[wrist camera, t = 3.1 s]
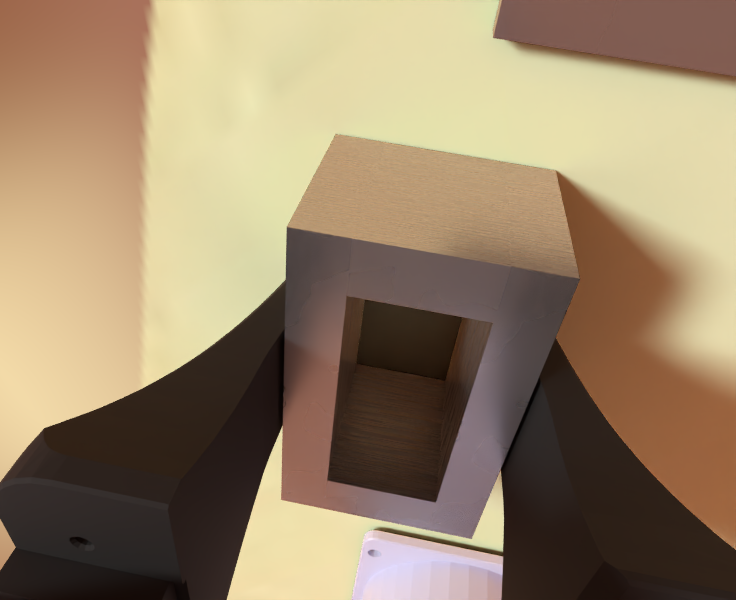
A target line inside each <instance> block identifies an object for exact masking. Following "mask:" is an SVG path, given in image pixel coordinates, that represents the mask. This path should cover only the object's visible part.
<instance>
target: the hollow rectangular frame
mask: <svg viewBox="0 0 736 600" xmlns="http://www.w3.org/2000/svg"><path fill="white" fill-rule="evenodd" d="M579 280H580V276H579V272H578V267H577V263H576V259H575V254H574V250H573V245H572V241H571V236H570V232H569V227H568V223H567V218H566V214H565V209H564V205H563V201H562V196H561V192H560V187H559V183H558V178H557V174H556V171H554V170H548V169H542V168H536V167H530V166H524V165H518V164H512V163H506V162H500V161H494V160H488V159H482V158H476V157H470V156H464V155H458V154H452V153H446V152H440V151H434V150H428V149H422V148H416V147H410V146H404V145H398V144H392V143H386V142H380V141H374V140H368V139H362V138H356V137H350V136H344V135H338V134H336V135H335V137H334V138H333V140H332V142H331V144H330V146H329V148H328V150H327V152H326V154H325V156H324V157H323V159H322V161H321V163H320V165H319V167H318V169H317V171H316V173H315V174H314V176H313V178H312V180H311V182H310V184H309V186H308V188H307V190H306V192H305V193H304V195H303V197H302V199H301V201H300V203H299V205H298V207H297V209H296V211H295V212H294V214H293V216H292V218H291V220H290V222H289V224H288V226H287V245H286V294H285V344H284V393H283V442H282V492H281V500H285V501H290V502H295V503H299V504H304V505H309V506H314V507H319V508H324V509H329V510H333V511H338V512H343V513H348V514H353V515H358V516H363V517H368V518H372V519H377V520H382V521H387V522H392V523H397V524H402V525H407V526H411V527H416V528H421V529H426V530H431V531H436V532H441V533H445V534H450V535H455V536H460V537H465V538H470V539H472V537H473V534H474V532H475V529H476V527H477V525H478V522H479V520H480V517H481V515H482V513H483V510H484V508H485V505H486V503H487V501H488V498H489V496H490V493H491V491H492V489H493V486H494V484H495V481H496V479H497V477H498V474H499V472H500V469H501V467H502V465H503V462H504V460H505V457H506V455H507V453H508V450H509V448H510V445H511V443H512V441H513V438H514V436H515V433H516V431H517V429H518V426H519V424H520V421H521V419H522V417H523V414H524V412H525V409H526V407H527V405H528V402H529V400H530V398H531V395H532V393H533V390H534V388H535V386H536V383H537V381H538V378H539V376H540V374H541V371H542V369H543V366H544V364H545V362H546V359H547V357H548V354H549V352H550V350H551V347H552V345H553V342H554V340H555V338H556V335H557V333H558V330H559V328H560V326H561V323H562V321H563V318H564V316H565V314H566V311H567V309H568V306H569V304H570V302H571V299H572V297H573V294H574V292H575V290H576V287H577V285H578V282H579ZM365 299H366V300H372V301H377V302H382V303H388V304H393V305H399V306H404V307H410V308H415V309H421V310H426V311H432V312H437V313H443V314H448V315H454V316H459V317H462V320H461V324H460V327H459V331H458V335H457V338H456V342H455V346H454V349H453V353H452V357H451V360H450V364H449V368H448V371H447V375H446V379H445V380H440V379H434V378H429V377H424V376H419V375H413V374H408V373H403V372H397V371H392V370H387V369H382V368H376V367H371V366H366V365H361V364H356V363H357V356H358V348H359V340H360V333H361V325H362V317H363V310H364V302H365Z"/></svg>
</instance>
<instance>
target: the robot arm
mask: <svg viewBox="0 0 736 600" xmlns="http://www.w3.org/2000/svg"><path fill="white" fill-rule="evenodd" d="M285 294H286V280H285V281H284V282H283V283H282V284H281V285H280V286H279V287H278V288H277V289H276V290H275V291H274V292H273V293H272V294H271V295H270V296H269V297H268V298H267V299H266V300H265V301H264V302H263V303H262V304H261V305H260V306H259V307H258V308H257V309H256V310H254V311H253V312H252V313H251V314H250V315H249V316H248V317H247V318H245V319H244V320H243V321H242V322H241V323H240V324H239V325H237V326H236V327H235V328H234V329H233V330H231V331H230V332H229V333H227V334H226V335H225V336H224V337H222V338H221V339H220V340H219V341H217V342H216V343H215V344H213V345H212V346H211V347H209V348H208V349H207V350H205V351H204V352H202V353H201V354H200V355H198V356H197V357H195V358H194V359H192V360H191V361H189V362H188V363H186V364H184V365H183V366H181V367H180V368H178V369H177V370H175V371H173V372H171V373H170V374H168V375H166V376H164V377H163V378H161V379H159V380H157V381H156V382H154V383H152V384H150V385H148V386H146V387H145V388H143V389H141V390H139V391H137V392H134V393H132V394H130V395H128V396H126V397H124V398H122V399H119V400H117V401H115V402H113V403H110V404H108V405H106V406H103V407H101V408H99V409H96V410H94V411H91V412H89V413H86V414H83V415H80V416H78V417H75V418H72V419H69V420H66V421H64V422H61V423H58V424H55V425H53V426H50V427H47V428H44V429H43V431H42V432H41V433H40V434H39V435H38V436H37V437H36V438H35V439H34V440H33V441H32V443H31V444H30V445H29V446H28V447H27V448H26V450H25V451H24V452H23V453H22V455H21V456H20V457H19V458H18V460H17V461H16V462H15V464H14V465H13V466H12V468H11V469H10V470H9V471H8V473H7V474H6V475H5V477H4V478H3V479H2V481H1V482H0V519H1V521H2V522H3V524H4V526H5V528H6V530H7V532H8V534H9V536H10V537H11V539H12V541H13V543H14V545H15V546H16V548H15V550H14V551H13V553H12V554H11V556H10V557H9V559H8V560H7V561H6V563H5V564H4V566H3V568H2V569H1V570H0V600H227V596H228V592H229V588H230V585H231V581H232V578H233V574H234V571H235V567H236V563H237V560H238V556H239V553H240V549H241V546H242V542H243V539H244V535H245V532H246V529H247V525H248V522H249V519H250V515H251V512H252V508H253V505H254V502H255V499H256V495H257V492H258V489H259V486H260V482H261V479H262V476H263V473H264V470H265V467H266V464H267V462H268V459H269V456H270V454H271V451H272V449H273V447H274V444H275V442H276V439H277V437H278V435H279V432H280V430H281V428H282V425H283V393H284V344H285ZM501 476H502V488H503V501H504V544H503V556H498V555H493V554H489V553H484V552H479V551H474V550H470V549H465V548H460V547H455V546H450V545H446V544H441V543H436V542H431V541H426V540H422V539H417V538H412V537H407V536H403V535H398V534H393V533H388V532H383V531H378V530H371V531H368V532H367V533H365V535H364V539H363V544H362V549H361V554H360V559H359V564H358V569H357V574H356V579H355V584H354V589H353V594H352V599H351V600H736V550H735V549H734V548H732V547H731V546H730V545H729V544H727V543H726V542H725V541H724V540H722V539H721V538H720V537H719V536H717V535H716V534H715V533H714V532H713V531H712V530H710V529H709V528H708V527H707V526H706V525H705V524H704V523H702V522H701V521H700V520H699V519H698V518H697V517H696V516H695V515H693V514H692V513H691V512H690V511H689V510H688V509H687V508H686V507H685V506H684V505H683V504H682V503H680V502H679V501H678V500H677V499H676V498H675V497H674V496H673V495H672V494H671V493H670V492H669V491H668V490H667V489H666V488H665V487H664V486H663V485H662V484H661V483H660V482H659V481H658V480H657V479H656V478H655V477H654V476H653V475H652V474H651V473H650V471H649V470H648V469H647V468H646V467H645V466H644V465H643V464H642V463H641V462H640V461H639V459H638V458H637V457H636V456H635V455H634V454H633V452H632V451H631V450H630V449H629V448H628V446H627V445H626V444H625V443H624V442H623V440H622V439H621V438H620V437H619V436H618V434H617V433H616V432H615V431H614V429H613V428H612V427H611V425H610V424H609V423H608V421H607V420H606V418H605V417H604V416H603V414H602V413H601V411H600V410H599V409H598V407H597V406H596V404H595V403H594V401H593V400H592V398H591V397H590V395H589V394H588V392H587V390H586V389H585V387H584V386H583V384H582V382H581V381H580V379H579V378H578V376H577V374H576V373H575V371H574V369H573V368H572V366H571V364H570V363H569V361H568V359H567V357H566V356H565V354H564V352H563V350H562V348H561V347H560V345H559V343H558V341H557V339H556V338H555V340H554V342H553V345H552V347H551V350H550V352H549V354H548V357H547V359H546V362H545V364H544V366H543V369H542V371H541V374H540V376H539V378H538V381H537V383H536V386H535V388H534V390H533V393H532V395H531V398H530V400H529V402H528V405H527V407H526V409H525V412H524V414H523V417H522V419H521V421H520V424H519V426H518V429H517V431H516V433H515V436H514V438H513V441H512V443H511V445H510V448H509V450H508V453H507V455H506V457H505V460H504V462H503V465H502V467H501Z"/></svg>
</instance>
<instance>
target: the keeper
mask: <svg viewBox="0 0 736 600" xmlns="http://www.w3.org/2000/svg"><path fill="white" fill-rule="evenodd" d="M493 38H497V39H504V40H510V41H516V42H523V43H529V44H535V45H542V46H548V47H554V48H560V49H567V50H573V51H579V52H586V53H592V54H598V55H605V56H611V57H617V58H624V59H630V60H636V61H642V62H649V63H655V64H661V65H668V66H674V67H680V68H687V69H693V70H699V71H706V72H712V73H718V74H724V75H731V76H736V0H500V1H499V5H498V10H497V14H496V18H495V23H494V27H493Z"/></svg>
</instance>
